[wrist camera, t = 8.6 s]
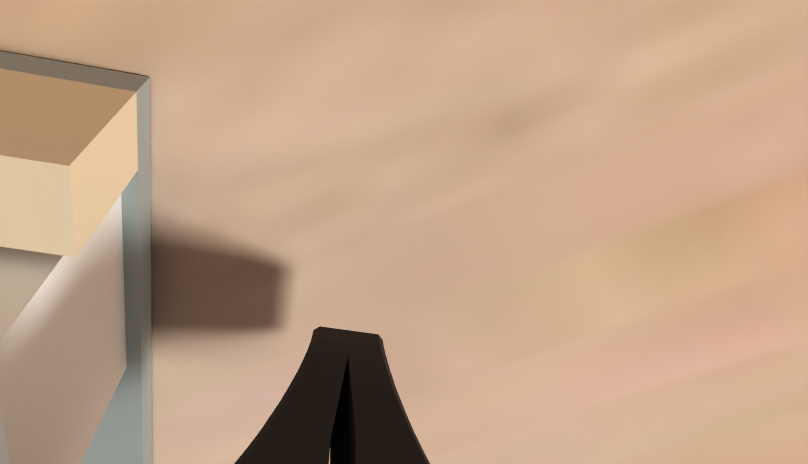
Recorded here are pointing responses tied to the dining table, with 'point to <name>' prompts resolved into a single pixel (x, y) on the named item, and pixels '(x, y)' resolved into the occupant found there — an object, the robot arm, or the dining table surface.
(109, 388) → the cabinet block
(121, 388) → the board
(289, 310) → the dining table surface
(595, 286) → the dining table surface
